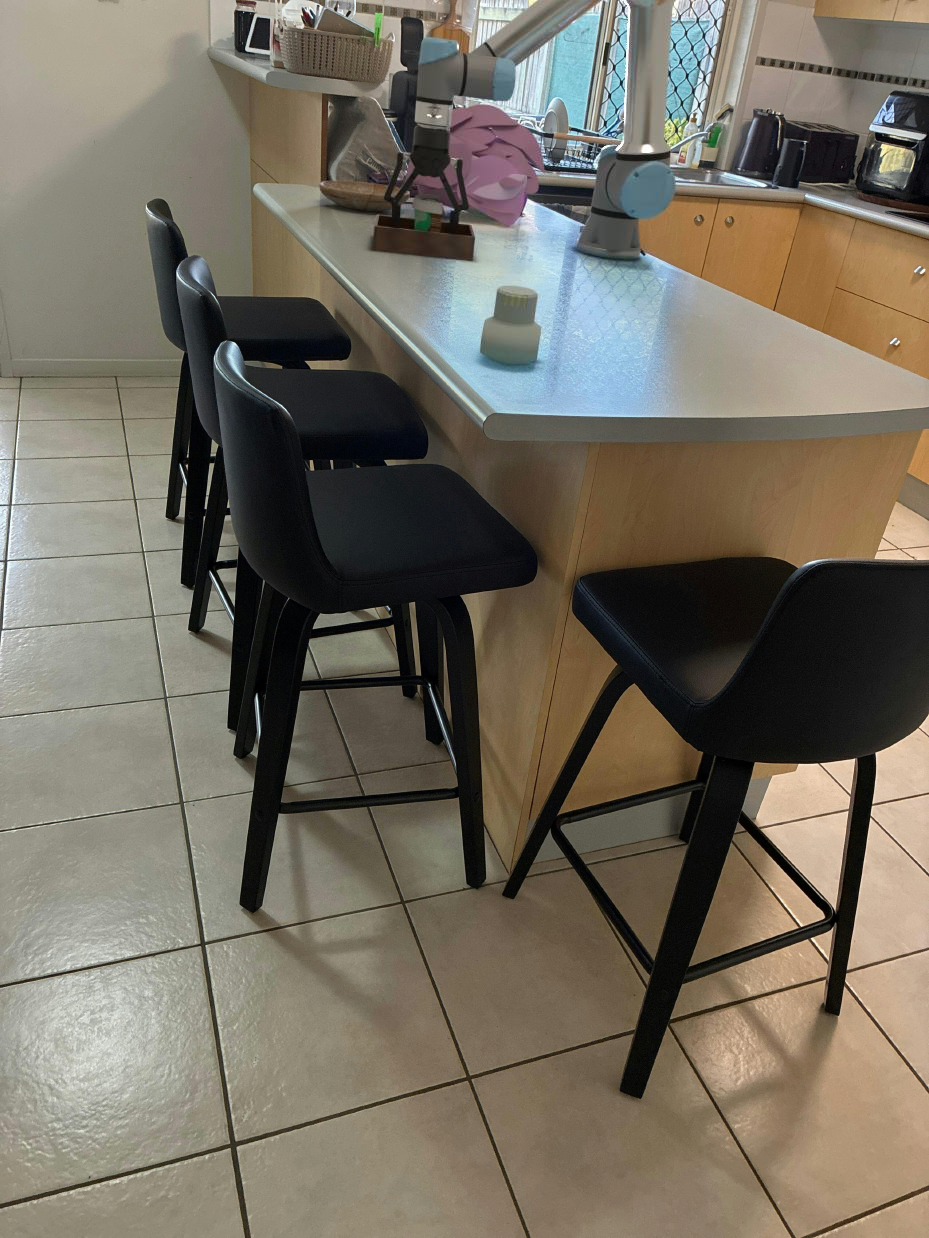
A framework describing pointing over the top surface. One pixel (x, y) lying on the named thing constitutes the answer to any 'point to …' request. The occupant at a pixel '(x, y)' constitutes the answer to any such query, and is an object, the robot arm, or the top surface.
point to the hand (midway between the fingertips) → (423, 240)
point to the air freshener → (512, 327)
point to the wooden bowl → (359, 195)
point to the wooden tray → (423, 239)
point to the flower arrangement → (488, 164)
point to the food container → (427, 213)
